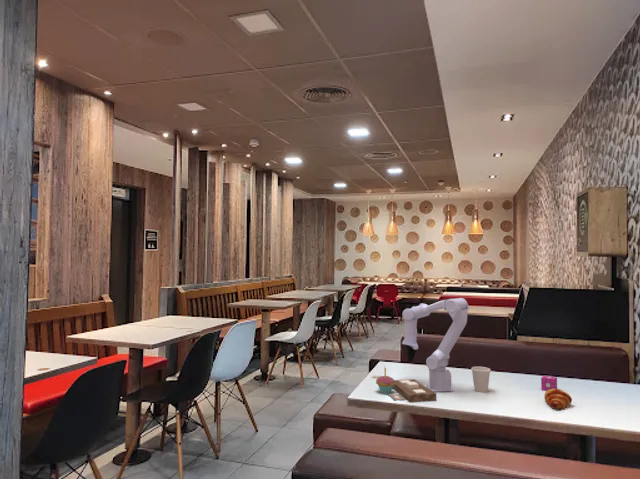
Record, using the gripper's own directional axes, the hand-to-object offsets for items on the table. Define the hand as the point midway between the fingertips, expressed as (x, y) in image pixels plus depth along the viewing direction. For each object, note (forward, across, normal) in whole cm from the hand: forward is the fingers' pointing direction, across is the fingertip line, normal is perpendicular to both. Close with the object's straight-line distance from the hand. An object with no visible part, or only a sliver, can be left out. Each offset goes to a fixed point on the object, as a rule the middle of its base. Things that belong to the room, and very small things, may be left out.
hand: (410, 361), depth 221 cm
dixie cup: (+10, +18, +27) cm, 34 cm away
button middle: (+9, +16, -6) cm, 19 cm away
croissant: (+10, +41, +48) cm, 64 cm away
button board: (+10, +16, -6) cm, 20 cm away
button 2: (+10, +24, -6) cm, 27 cm away
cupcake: (+11, +12, -17) cm, 23 cm away
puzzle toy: (+10, +22, +59) cm, 64 cm away
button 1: (+10, +8, -6) cm, 14 cm away
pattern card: (+10, +22, -15) cm, 28 cm away
